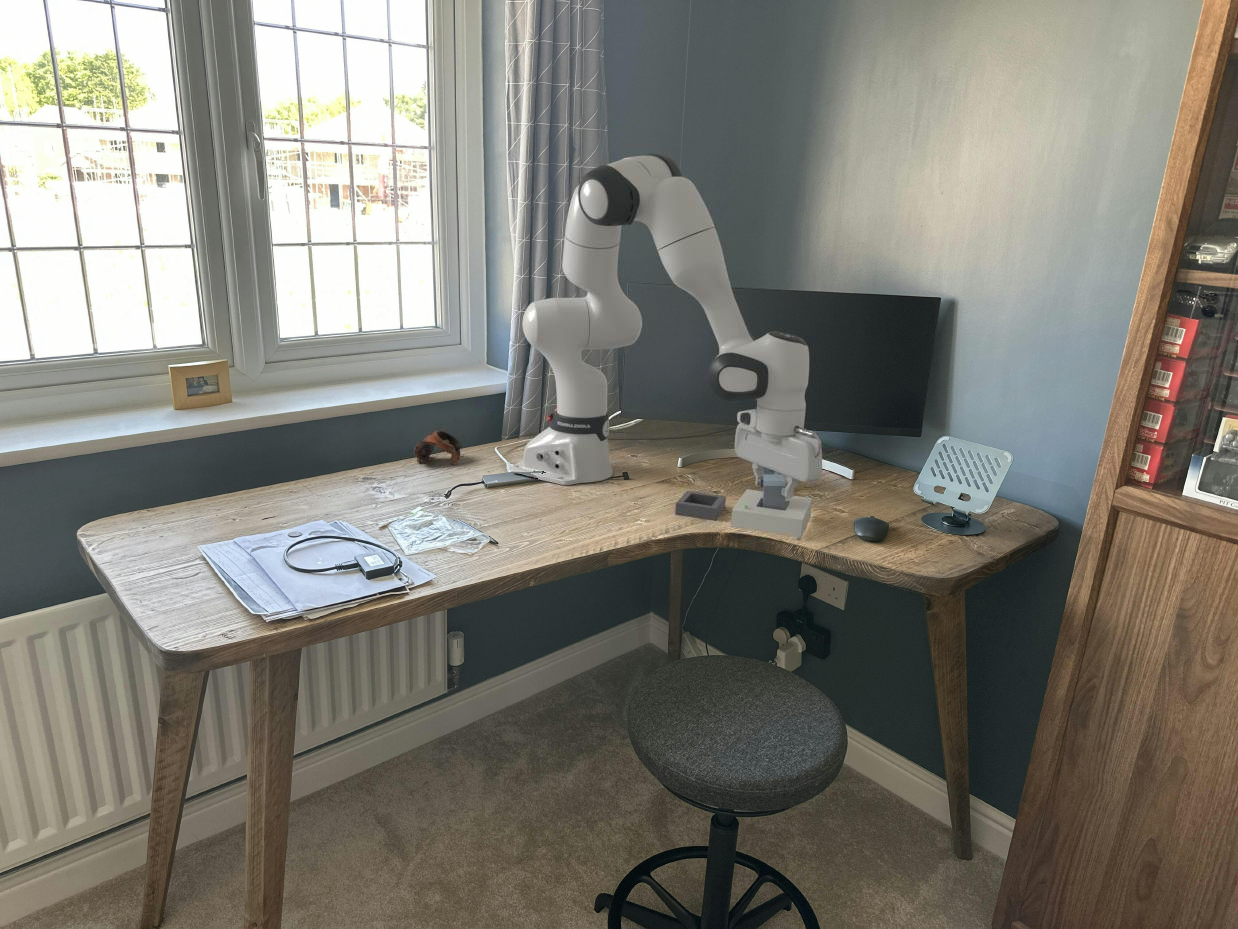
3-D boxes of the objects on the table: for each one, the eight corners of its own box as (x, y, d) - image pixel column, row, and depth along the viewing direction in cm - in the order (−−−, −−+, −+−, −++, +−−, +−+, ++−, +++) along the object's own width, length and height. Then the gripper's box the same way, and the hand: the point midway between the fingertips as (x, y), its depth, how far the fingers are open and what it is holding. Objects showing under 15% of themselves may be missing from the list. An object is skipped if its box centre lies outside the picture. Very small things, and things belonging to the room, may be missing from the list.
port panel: (730, 529, 156) (732, 507, 155) (745, 508, 168) (747, 486, 167) (800, 540, 152) (802, 517, 151) (810, 517, 164) (812, 495, 162)
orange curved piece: (429, 455, 199) (446, 427, 197) (456, 479, 196) (473, 450, 194) (396, 455, 188) (413, 425, 186) (424, 479, 185) (442, 449, 183)
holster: (675, 517, 162) (675, 502, 161) (686, 504, 169) (687, 490, 168) (715, 523, 159) (716, 508, 158) (725, 510, 166) (726, 496, 166)
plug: (763, 520, 158) (763, 480, 156) (762, 513, 162) (763, 474, 159) (784, 521, 157) (785, 480, 155) (783, 514, 161) (784, 474, 159)
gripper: (834, 431, 147) (826, 505, 151) (756, 407, 164) (750, 474, 168) (808, 436, 144) (801, 511, 148) (731, 411, 160) (726, 479, 164)
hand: (773, 491), depth 158 cm, fingers closed on plug, 6 cm apart
